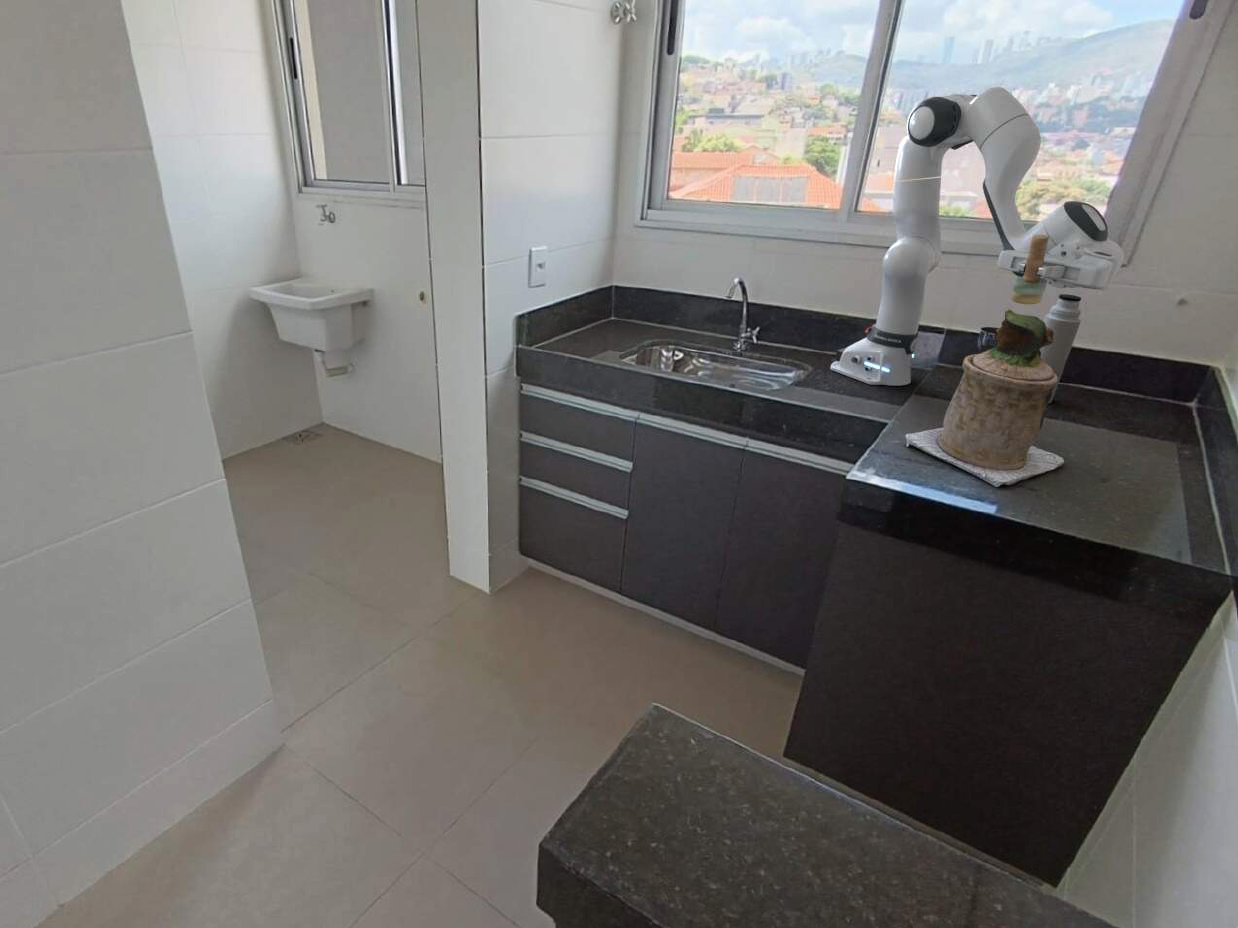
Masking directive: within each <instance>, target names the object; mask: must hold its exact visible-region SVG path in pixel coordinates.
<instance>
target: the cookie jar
mask: <svg viewBox="0 0 1238 928" xmlns="http://www.w3.org/2000/svg"><path fill="white" fill-rule="evenodd" d="M998 328H999V329H997V338H998V344H997V346H996V347H995V348H993V349H990V350H988V351H986V352H984V353H981V354H980V353H976V354H970V355H967V356H965V358H964V359H963V362H962V366H961V367H962V369H963V374H962V376H961V379H960V381H959V383H958V385H957V387H956V389H955V391H954V394H953V395H952V397H951V400H950V402H949V405H948V407H947V408H946V412H945V415H944V418H943V427H939V428H935V429H927V430H924V431H918V432H917V431H916V432H912V433H906V434H905V436H904V437H905V439H906V446H905V447H909V446H910V445H911V446H913V447H915V448H917V449H919V450H921V451H923V452H925V453H927V454H929V455H930V456H933V457H936V458H938V459H940V460H943V461H944V462H946V463H949V464H951V465H953V466H956V467H958V468H959V469H962V470H963V471H965V472H968V473H970V474H972V475H974V476H975V477H977V478H979V479H981V480H982V481H984V482H986V483H988V484H990V485H992V486H994V487H996V488H999V487H1000V486H1001V485H1006V486H1011V485H1013V484H1016V483H1018V482H1020V481H1022V480H1023V481H1024V480H1027V479H1029V478H1032V477H1035V476H1038V475H1042V474H1045V473H1046V472H1050V471H1054V470H1055V469H1057V468H1059V467H1061V466H1062V465H1063V464H1064V463H1065V460H1064V458H1063V457H1061V456H1059V455H1058V454H1056V453H1053V452H1050V451H1046V450H1043V449H1041V448H1039V447H1036V446H1034V445H1033V444H1034V442H1035V441H1036V440H1037V438H1038V437H1039V436H1040V435H1039V434H1040V431H1041V429H1042V428H1043V423H1044V418H1045V410H1046V407H1047V406H1048V404H1049V403H1048V402H1049V400H1050V399H1051V397H1052V390H1053V387H1054V386H1055V385H1056V384H1057V382H1058V378H1057V375H1056V374H1055V373H1054V372H1053V370H1052V368H1051V367H1050V366H1049V365H1048V364H1046V363H1045V362H1044V361H1043V360H1042V359H1041V358H1040V357H1041V351H1040V348H1042V347H1044V346H1047V345H1049V344H1052V343H1053V340H1054V339H1053V336H1054V332H1053V330H1052V329H1050V328H1048V327H1046V325H1045V323H1044V320H1042V319H1041V318H1039V317H1038V316H1035V315H1029V314H1028V315H1027V314H1020V313H1016V312H1014V311H1013V310H1011V309H1009V308H1006V309H1004V319H1003V320H1002V321H1001V326H1000V327H998Z"/></svg>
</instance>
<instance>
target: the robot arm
mask: <svg viewBox="0 0 1238 928" xmlns="http://www.w3.org/2000/svg"><path fill="white" fill-rule="evenodd" d="M906 133H907V136H905V137H904V138H903V139H902V141H901V142H900V144H899V148H898V152H897V157H896V161H895V169H894V177H893V179H894V181H893V198H892V216H893V220H894V225H895V231H896V242H894V243H893V244H892V245H891V246H890V247H889V248H888V250H887V251H886V252H885V254H884V256H883V259H882V271H883V272H882V283H881V296H880V297H881V299H880V304H879V307H878V313H877V318H876V321H875V323H874V324H872V326H869V327H868V328H866V329H865V334H866V337H864V338H862V339H861V340H858V341H856V342H854V343H853V344H850V345H849V346H847V347H844V348H840V349H838V350H836V354H835V360H836V361H835V360H834V361H833V362H832V363H831V364H830V367H829V369H830V371H833V372H836V373H838V374H841V375H844V376H846V377H849V378H851V379H855V380H857V381H859V382H862V383H864V384H868V385H870V386H871V385H872V386H880V385H881V386H882V385H883V386H891V387H892V386H894V387H895V386H898V387H899V386H906V385H909V384H911V382H912V360H913V358H914V357H915V354H914V352H915V350H916V347H917V344H918V337H919V332H918V329H919V327H920V322H921V319H922V315H923V310H924V307H925V288H926V281H927V277H928V274H929V273H931V272H933V271H934V270H935V269H936V268H937V266H938V265H939V263H940V260H941V258H942V237H941V234H942V233H941V221H940V201H941V188H942V187H941V185H942V167H943V159H944V157H945V155H946V153H947V152H948V151H949V150H950V149H951V150H954V151H955V150H958V149H960V148H962V147H964V146H966V145H968V144H971V143H974V144H975V145H976V147H977V149H978V151H979V152H980V153H981V156H982V158H983V161H984V169H985V175H984V179H983V181H982V190H983V194H984V198H985V201H986V204H987V206H988V210H989V212H990V214H991V217H992V220H993V222H994V225H995V229H996V231H997V233H998V236H999V238H1000V241H1001V245H1002V247H1003V250H1002V251H1001V252H1000V253H999V256H998V259H997V263H996V267H997V268H998V269H1001V270H1005V271H1009V272H1011V273H1012V274H1014V275H1015V276H1017V278H1018V277H1023V276H1024V272H1025V268H1026V263H1027V259H1028V254H1029V250H1030V245H1031V240H1032V237H1033V236H1034V235H1046V236H1049V240H1048V244H1047V249H1046V253H1045V257H1044V262H1043V266H1040V267H1039V269H1038V272H1037V276H1040V277H1041V278H1044V279H1046V280H1047V284H1048V285H1050V286H1051V287H1053V288H1057V289H1066V288H1070V289H1073V288H1082V289H1089V290H1098V291H1104V290H1107V289H1108V287H1109V285H1110V283H1111V281H1112V279H1113V276H1114V275H1116V274H1117V272H1118V271H1119V270H1120V269H1121V267H1122V265H1123V263H1124V257H1125V255H1124V251H1123V249H1122V247H1121V246H1120V245H1119V244H1118V243H1116V242H1115V241H1113V240H1111V239H1110V238H1109V230H1108V229H1109V228H1108V225H1107V222H1106V220H1105V218H1104V216H1103V215H1102V213H1100V211H1099V210H1098V209H1097V208H1096V207H1095V206H1094V205H1092V204H1089V203H1087V202H1083V201H1078V200H1070V201H1065V202H1064V203H1063V204H1061V205H1060V206H1059V207H1057V208H1055V210H1053V211H1052V212H1050V213H1049V214H1048V215H1046V216H1045V217H1044V218H1043V219H1041V221H1039V222H1038V223H1036V224H1035V225H1034V226H1032V227H1031V228H1030V229H1028V230H1026V228H1025V226H1024V222H1023V220H1022V217H1021V215H1020V212H1019V210H1018V207H1017V205H1016V195H1017V191H1018V189H1019V186H1020V184H1021V183H1022V181H1023V180H1024V178H1025V176H1026V174H1027V173H1028V171H1029V170H1030V169H1031V167H1032V166H1033V164H1034V163H1035V160H1036V159H1037V157H1038V155H1039V152H1040V148H1041V143H1042V136H1041V131H1040V130H1039V128H1038V126H1037V123H1036V122H1035V121H1034V119H1033V117H1032V116H1031V115H1030V113H1029V112H1028V111H1027V109H1026V108H1025V107H1024V105H1023V104H1022V103H1020V101H1019V100H1018V99H1017V98H1016V97H1015V96H1014V95H1013V94H1012V93H1011V92H1010V91H1009V90H1007V89H1006V88H1005V87H1002V86H993V87H989V88H987V89H985V90H982V91H981V92H980V93H978V94H962V93H953V94H949V95H943V96H931V97H929V98H926V99H924V100H921V101H920V102H918V103H917V104H916V105H915V106H914V107H913V108H912V110H911V111H910V113H909V115H908V118H907V121H906Z"/></svg>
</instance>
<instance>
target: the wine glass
mask: <svg viewBox="0 0 1238 928" xmlns="http://www.w3.org/2000/svg"><path fill="white" fill-rule="evenodd" d="M999 328H1000V327H993V326H984V327H983V326H982V327H981V328H980V329H979V333H978V339H977V349H978V352H979V354H981V353H984V352H986V351H988V350H990V349H993V348H995V347H996V346H997V344H998V338H997V329H999Z"/></svg>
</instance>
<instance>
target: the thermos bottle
mask: <svg viewBox="0 0 1238 928" xmlns="http://www.w3.org/2000/svg"><path fill="white" fill-rule="evenodd" d="M1081 301H1082V297H1081V296H1078V295H1074V294H1067V293H1066V294H1065V293H1062V294H1059V296H1058V299H1057V301H1056V304H1055V305H1052V306H1051V308H1050V310H1049V313H1047V314H1045V317H1044V319H1043V322H1044V323H1045V325H1046V327H1048V328H1050V329H1052V330H1053V332H1054V336H1053V339H1054V340H1053V343H1052V344H1049V345H1047V346H1044V347H1042V348H1040V351H1041V357H1040V358H1041V359H1042V360H1043V361H1044V362H1045V363H1046V364H1048V365H1049V366H1050V367H1051V368H1052V370H1053V372H1054V373H1055V374H1056V375H1057V378H1058V382H1057V384H1056V385H1055V386H1054V387H1053V390H1052V397H1051V399H1050V400H1049V402H1048V404H1051V403H1052V402H1053V400H1054V398H1055V394H1056V392H1057V389H1058V386H1059V383H1060V381H1061V378H1062V375H1063V372H1064V369H1065V364H1066V362H1067V360H1068V358H1069V355H1070V353H1071V351H1072V348H1073V344H1074V342H1075V340H1076V336H1077V334H1078V330H1079V328H1080V325H1081V322H1082V320H1081V319H1080V316H1081V313H1082V311H1081V309H1079V307H1080V302H1081Z"/></svg>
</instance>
